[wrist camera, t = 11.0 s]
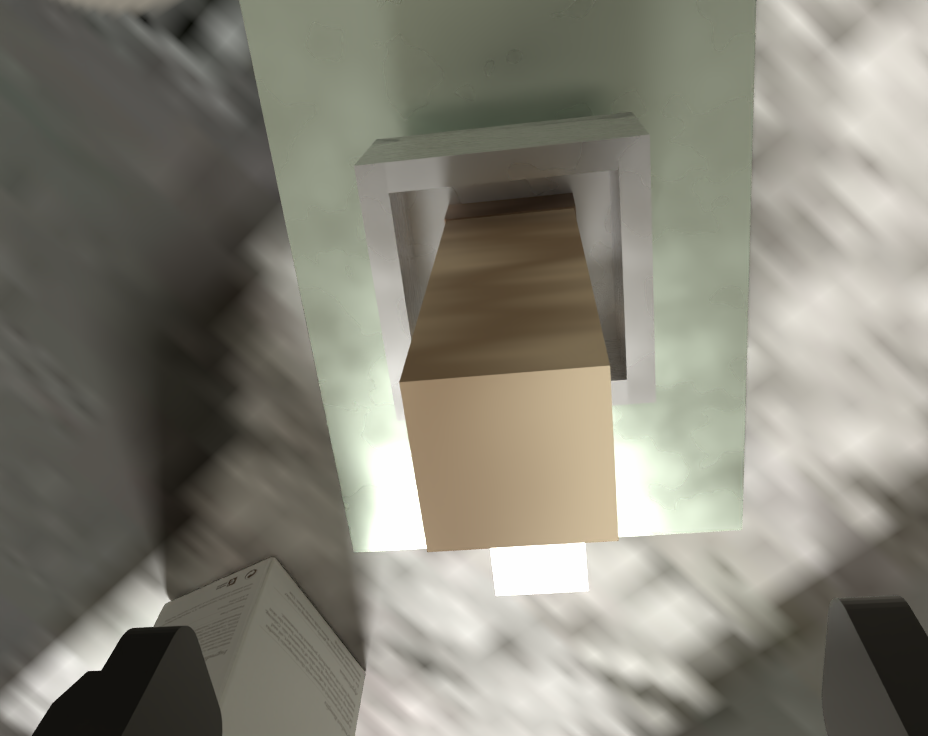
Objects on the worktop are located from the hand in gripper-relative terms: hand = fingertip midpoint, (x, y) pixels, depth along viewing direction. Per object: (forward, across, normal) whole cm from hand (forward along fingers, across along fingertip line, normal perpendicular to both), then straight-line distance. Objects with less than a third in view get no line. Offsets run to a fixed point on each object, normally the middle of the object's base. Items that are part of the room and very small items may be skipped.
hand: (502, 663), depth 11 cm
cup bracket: (+22, 0, +3) cm, 22 cm away
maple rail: (+17, 0, 0) cm, 17 cm away
